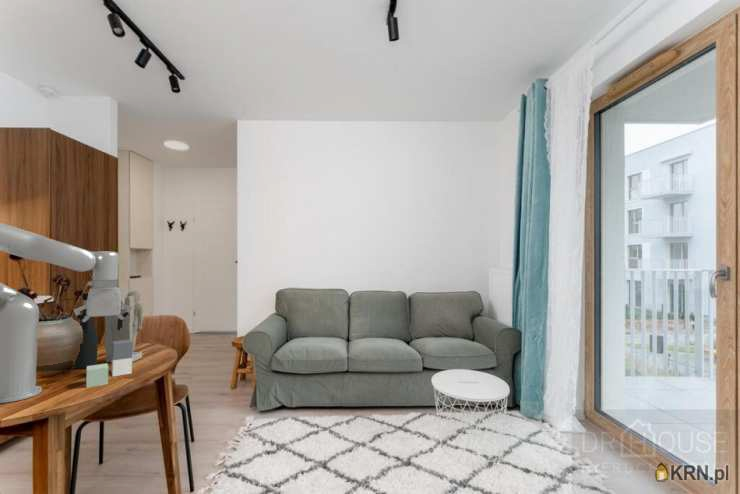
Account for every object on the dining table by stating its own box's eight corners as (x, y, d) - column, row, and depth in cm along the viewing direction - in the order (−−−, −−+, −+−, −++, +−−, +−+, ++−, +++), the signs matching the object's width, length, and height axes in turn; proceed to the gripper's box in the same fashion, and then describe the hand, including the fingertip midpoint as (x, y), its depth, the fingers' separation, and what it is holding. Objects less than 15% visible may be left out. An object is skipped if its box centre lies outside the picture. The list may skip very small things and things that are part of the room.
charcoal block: (113, 360, 138) (113, 344, 138) (112, 356, 142) (112, 341, 143) (132, 357, 142) (132, 342, 142) (130, 354, 146) (130, 339, 146)
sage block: (86, 388, 126) (87, 370, 126) (86, 383, 130) (86, 366, 130) (107, 384, 129) (108, 367, 130) (106, 379, 134) (107, 363, 134)
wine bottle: (77, 364, 152) (80, 292, 152) (100, 363, 154) (102, 291, 155) (68, 370, 144) (70, 294, 145) (92, 368, 146) (94, 293, 147)
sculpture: (148, 358, 162) (150, 290, 163) (134, 363, 154) (136, 292, 155) (117, 357, 163) (119, 289, 164) (101, 362, 155) (104, 291, 156)
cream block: (112, 376, 138) (113, 360, 138) (111, 372, 142) (112, 356, 142) (131, 373, 141) (132, 357, 142) (129, 369, 146) (130, 354, 146)
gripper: (74, 285, 126) (71, 335, 126) (133, 284, 137) (131, 330, 136) (75, 284, 132) (72, 332, 132) (132, 283, 143) (130, 327, 142)
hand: (102, 331), depth 134 cm, fingers open, 9 cm apart
